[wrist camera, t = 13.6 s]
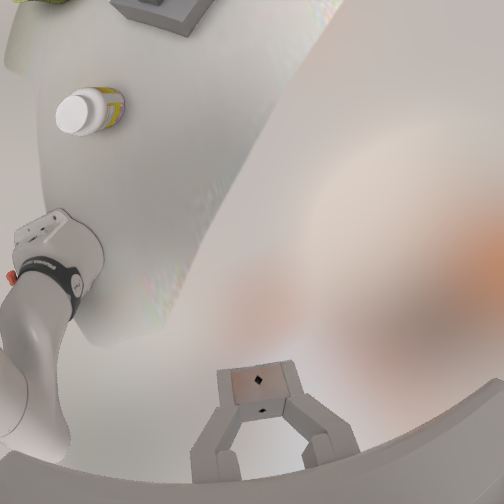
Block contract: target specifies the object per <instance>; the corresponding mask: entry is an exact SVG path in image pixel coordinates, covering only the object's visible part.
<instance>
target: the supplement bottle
mask: <svg viewBox="0 0 504 504" xmlns="http://www.w3.org/2000/svg"><path fill="white" fill-rule="evenodd" d="M124 107H125V104H124V99H123V96H122V95H121V94H120V92H118V91H117V90H115V89H112V88H98V87H85V88H81V89H78V90H76V91H75V92H73V93H72V94H71V95H70V96H69V97H67V98H65V99H64V100H63V101H62V102H61V103H60V105H59V106H58V108H57V111H56V123H57V126H58V127H59V129H60V130H61V131H63V132H65V133H70V134H72V135H75V136H80V137H82V136H87V135H90V134H92V133H95V132H97V131H100V130H103V129H105V128H108V127H110V126H112V125H114V124H115V123H117V122H118V121H119V119H120V118H121V116H122V114H123V112H124Z"/></svg>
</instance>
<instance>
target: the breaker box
mask: <svg viewBox="0 0 504 504" xmlns="http://www.w3.org/2000/svg"><path fill="white" fill-rule="evenodd" d="M213 1H214V0H111V1H110V4H112V5H113V6H114V7H115V8H116V9H117V10H118V11H119V12H120V13H121V14H123V15H124V16H125V17H126V18H127V19H130V20H134V21H138V22H141V23H145V24H148V25H152V26H155V27H158V28H161V29H165V30H168V31H171V32H173V33H176V34H179V35H182V36H185V37H188V36H189V34H190V33H191V31H192V30H193V28H194V27H195V25H196V24H197V22H198V21H199V20H200V18H201V17H202V15H203V14H204V13H205V11H206V10H207V9H208V7H209V6H210V5H211V3H212V2H213Z"/></svg>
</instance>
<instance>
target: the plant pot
mask: <svg viewBox="0 0 504 504" xmlns="http://www.w3.org/2000/svg"><path fill="white" fill-rule="evenodd" d="M12 1H13V2H16V3H21V2H25V1H33V0H12ZM36 1H43V2H49V3H55V4H61V3H64V2H66V1H68V0H36Z"/></svg>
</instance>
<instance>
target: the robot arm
mask: <svg viewBox="0 0 504 504" xmlns="http://www.w3.org/2000/svg"><path fill="white" fill-rule="evenodd" d="M54 216H55V217H56V218H55V217H54ZM14 242H15V249H14V250H13V256H12V257H13V264H14V267H15V270H16V272H17V275H18V278H17V276H16V273H15V271H10V272H9V273H8V274H7V275H6V277H7V279H8V280H9V282H10V285H12V286H13V285H14V286H13V288H12V289H11V291H10V292H9V294H8V295H7V297H6V298H5V300H4V302H3V303H2V305H1V308H0V333H1V337H2V341H3V349H4V351H3V350H2V349H1V348H0V443H2V444H3V445H5V446H6V447H8V448H9V449H11V450H12V451H11V452H9V453H8V454H7V455H6V456H4V457H3V458H2V459H1V460H0V504H504V381H503V380H500V379H498V378H494V379H492V380H490V381H489V382H488V383H486V384H485V385H483V386H482V387H481V388H479V389H478V390H477V391H475V392H474V393H473V394H471V395H470V396H468V397H467V398H465V399H464V400H462V401H461V402H460V403H458V404H457V405H455V406H453V407H452V408H450V409H449V410H447V411H445V412H444V413H442V414H440V415H439V416H437V417H435V418H433V419H432V420H430V421H428V422H426V423H425V424H423V425H421V426H419V427H417V428H415V429H413V430H411V431H409V432H407V433H405V434H403V435H401V436H399V437H397V438H394V439H392V440H390V441H388V442H385V443H383V444H381V445H378V446H376V447H373V448H371V449H368V450H366V451H363V452H360V450H359V447H358V444H357V442H356V439H355V437H354V434H353V431H352V429H351V426H350V424H348V423H347V422H345V421H344V420H343V419H341V418H340V417H339V416H337V415H336V414H334V413H333V412H332V411H330V410H329V409H328V408H326V407H325V406H324V405H322V404H321V403H320V402H318V401H317V400H316V399H314V398H313V397H312V396H311V395H309V394H308V393H306V394H304V392H303V389H302V386H301V383H300V380H299V376H298V373H297V370H296V368H295V364H294V362H293V361H292V360H287V361H282V362H274V363H269V364H263V365H256V366H250V367H243V368H235V369H222V370H217V380H218V390H219V400H220V407H216V409H215V411H214V413H213V414H212V416H211V418H210V419H209V421H208V423H207V425H206V426H205V428H204V430H203V431H202V433H201V435H200V436H199V438H198V440H197V441H196V443H195V444H194V446H193V448H192V449H191V451H190V459H191V471H192V481H193V484H174V483H153V482H141V481H133V480H125V479H118V478H111V477H106V476H100V475H95V474H90V473H86V472H81V471H77V470H73V469H70V468H66V467H62V466H59V465H56V464H54V463H57V462H59V461H60V460H62V459H63V457H65V455H66V454H67V452H68V450H69V446H70V440H71V438H70V430H69V428H68V425H67V423H66V421H65V418H64V416H63V414H62V410H61V407H60V402H59V397H58V387H57V360H58V353H59V348H60V344H61V342H62V338H63V336H64V333H65V330H66V327H67V324H68V322H69V321H70V320H71V319H72V318H73V316H74V315H75V313H76V310H77V308H78V306H79V303H80V300H81V299H82V297H83V295H84V294H85V292H88V291H89V289H90V288H91V285H92V282H93V280H94V279H95V278H96V277H97V276H98V275H99V273H100V272H101V270H102V267H103V263H104V256H103V251H102V248H101V245H100V243H99V241H98V239H97V238H96V236H95V235H94V234H93V233H92V232H91V231H90V230H89V229H88V228H87V227H86V226H84V225H83V224H81V223H79V222H77V221H75V220H73V219H72V218H71V217H70V216H69V215H68V214H67V213H66V212H65V211H64V210H62V209H60V208H59V209H56V210H54V211H52V212H50V213H48V214H46V215H44V216H42V217H40V218H38V219H36V220H34V221H32V222H31V223H29V224H27V225H25V226H23V227H22V228H19V229H18V230H17V231H16V232H15V235H14ZM230 372H231V374H230ZM280 416H283V418H284V419H285V420H286V421H287V422H288V423H289V424H290V425H291V426H292V427H293V428H294V429H296V430H297V431H298V432H299V433H300V434H301V435H302V436H303V437H304V438H305V439H306V440H307V441H308V442H309V444H308V445H307V447H306V449H305V450H304V452H303V453H302V459H303V462H304V466H305V470H301V471H296V472H292V473H287V474H282V475H277V476H271V477H265V478H259V479H251V480H244V481H242V478H241V473H240V468H239V464H238V460H237V456H236V453H235V452H233V451H232V450H229V449H230V447H231V445H232V443H233V441H234V439H235V437H236V435H237V433H238V430H239V428H240V426H241V424H242V422H247V421H254V420H259V419H267V418H273V417H280Z"/></svg>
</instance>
